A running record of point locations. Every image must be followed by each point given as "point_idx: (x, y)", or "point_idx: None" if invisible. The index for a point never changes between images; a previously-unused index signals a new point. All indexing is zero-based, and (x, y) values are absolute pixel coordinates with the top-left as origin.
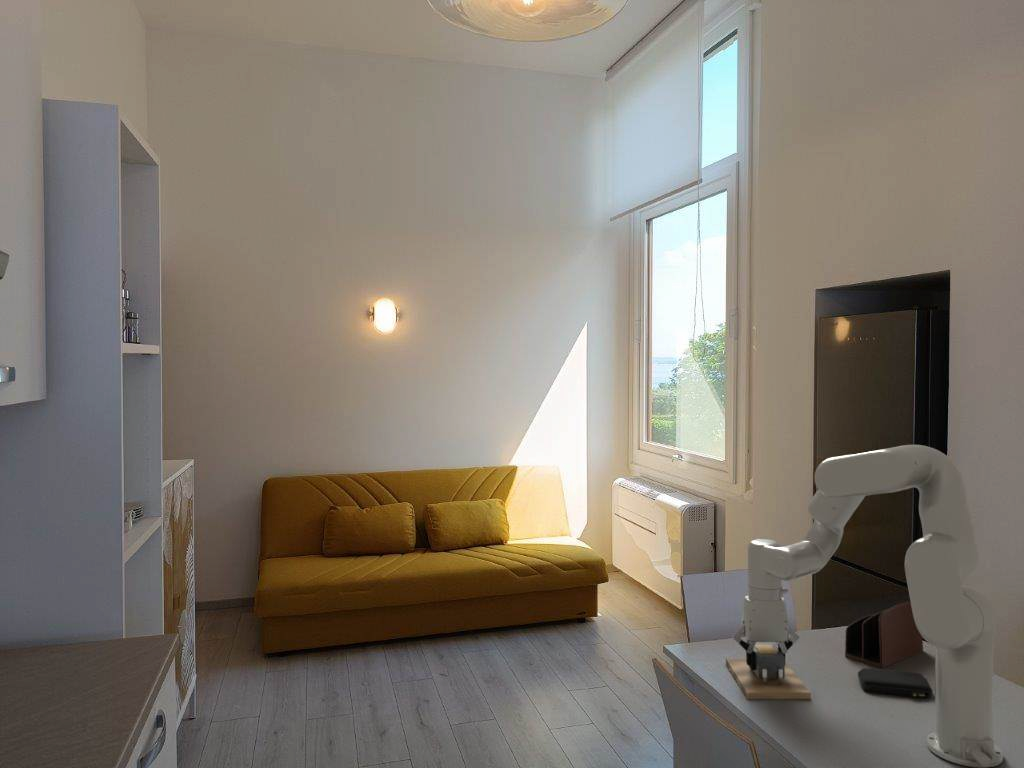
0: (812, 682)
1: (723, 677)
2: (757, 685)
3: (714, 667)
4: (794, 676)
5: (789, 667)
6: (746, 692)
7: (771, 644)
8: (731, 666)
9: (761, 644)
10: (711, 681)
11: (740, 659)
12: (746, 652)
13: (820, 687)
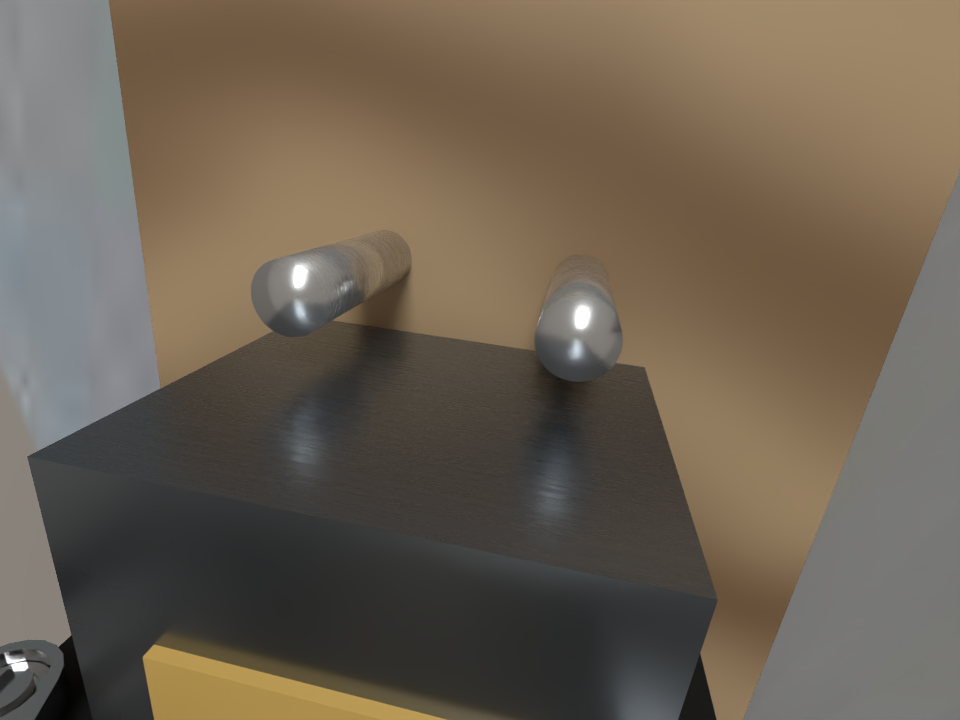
0: (927, 601)
1: (119, 347)
2: None
3: (47, 82)
4: (744, 623)
5: (862, 398)
6: None
7: (597, 698)
8: (149, 262)
9: (334, 635)
10: (27, 406)
11: (292, 21)
12: (72, 649)
13: (919, 697)
